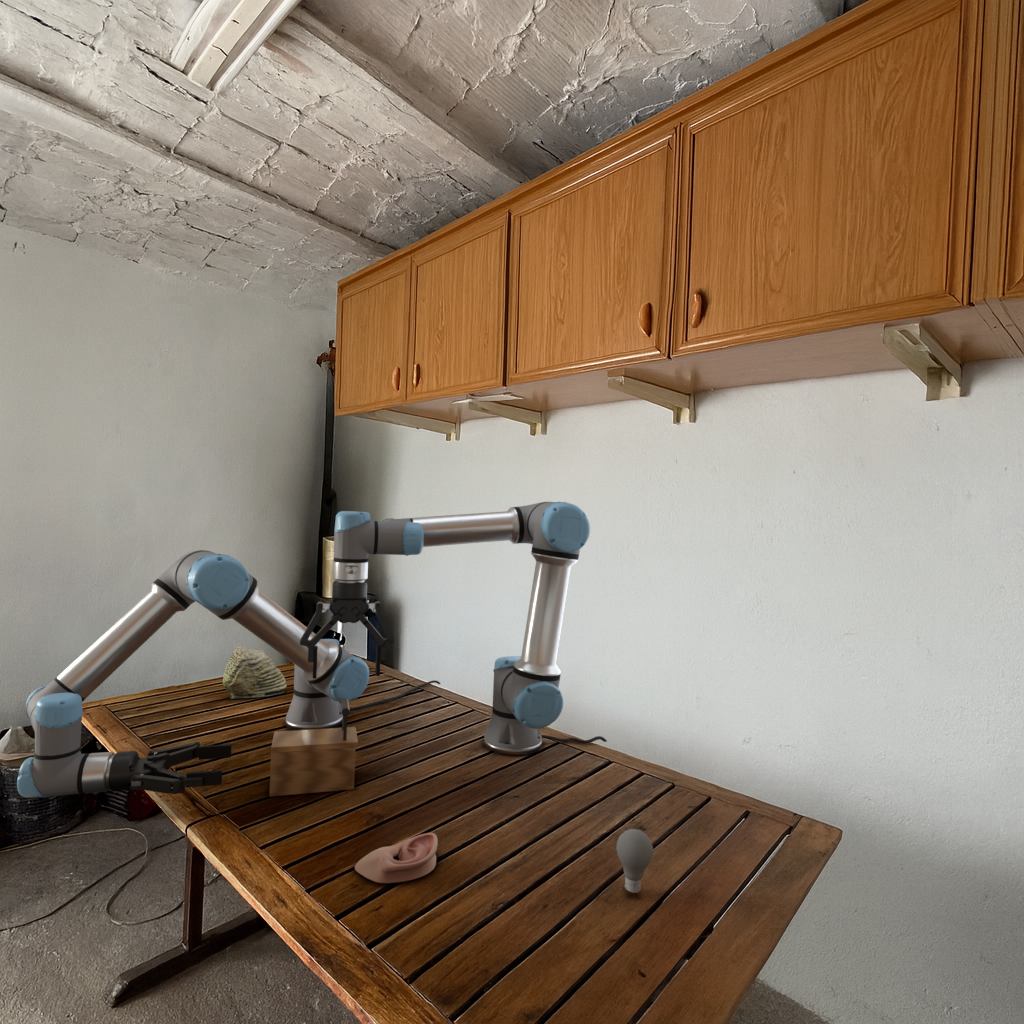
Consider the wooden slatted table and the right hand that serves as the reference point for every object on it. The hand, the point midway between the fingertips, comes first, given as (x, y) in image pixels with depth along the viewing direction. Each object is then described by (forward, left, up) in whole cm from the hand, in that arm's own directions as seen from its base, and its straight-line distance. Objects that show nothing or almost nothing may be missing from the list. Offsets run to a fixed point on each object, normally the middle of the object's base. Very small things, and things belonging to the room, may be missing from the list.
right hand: (346, 675), depth 141 cm
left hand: (+23, -6, -18) cm, 30 cm away
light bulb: (-30, +61, -24) cm, 72 cm away
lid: (+6, -2, -14) cm, 16 cm away
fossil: (+6, -71, -24) cm, 75 cm away
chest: (+6, -2, -24) cm, 25 cm away
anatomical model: (+1, +36, -24) cm, 43 cm away
